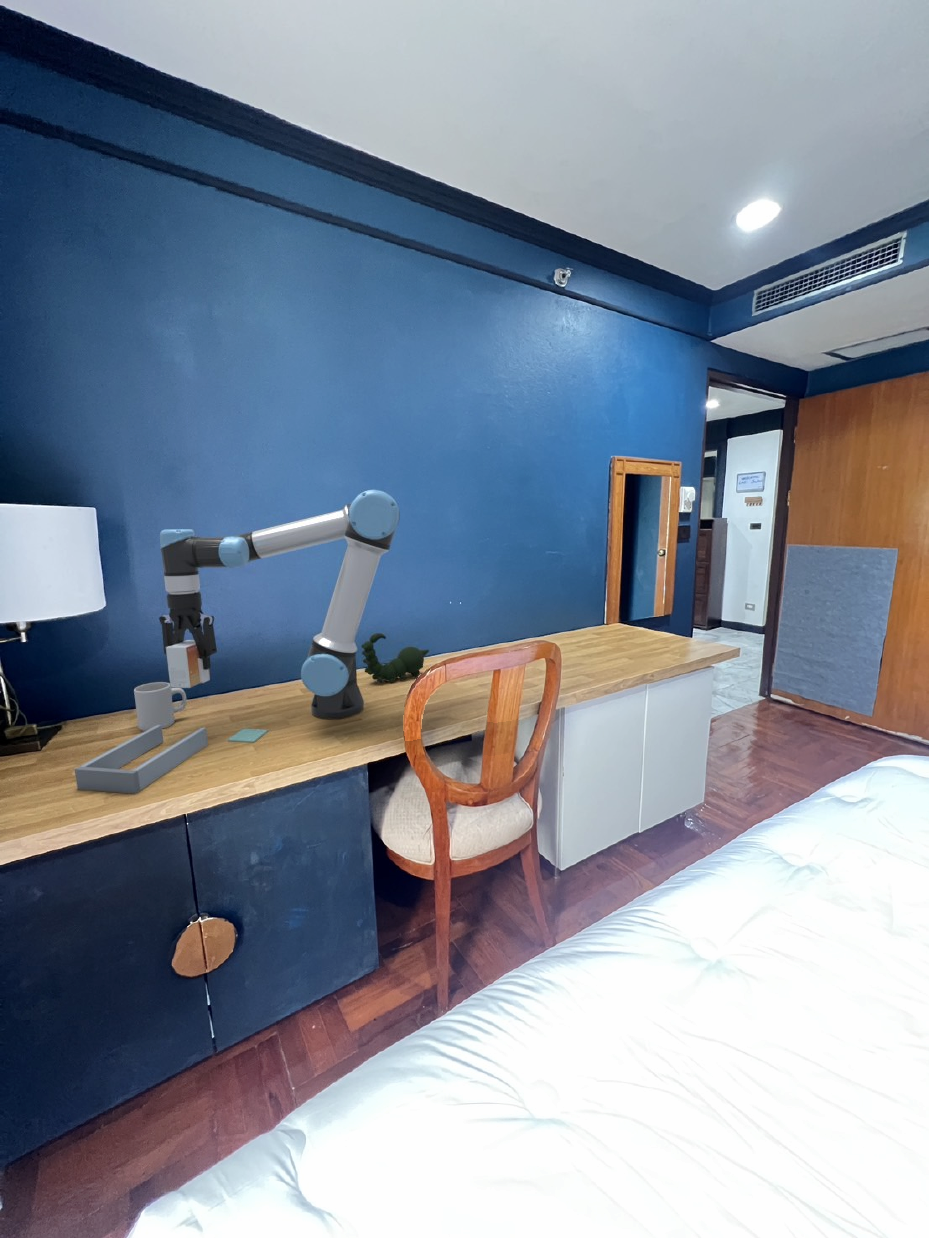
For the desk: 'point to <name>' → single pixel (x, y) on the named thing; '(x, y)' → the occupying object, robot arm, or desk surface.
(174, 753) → the channel
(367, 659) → the toy figurine
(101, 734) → the desk surface
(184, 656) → the small box
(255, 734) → the pad
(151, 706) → the mug
